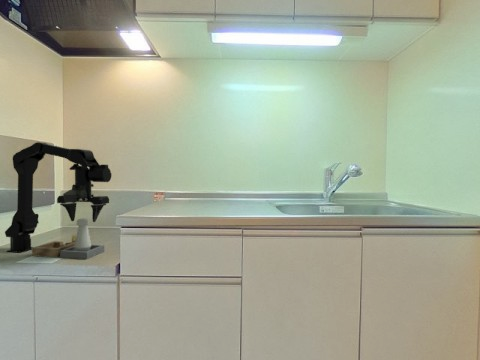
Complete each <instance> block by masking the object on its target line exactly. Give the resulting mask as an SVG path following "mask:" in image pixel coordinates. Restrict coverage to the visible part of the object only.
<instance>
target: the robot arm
mask: <svg viewBox="0 0 480 360" xmlns="http://www.w3.org/2000/svg"><path fill="white" fill-rule="evenodd" d="M46 155H51V156H55V157H59V158H64V159H66V160H68V161H69V162H72V163H73V165H71V167H70V168H69V170H70V171H74V184H72V186H71V189H69V190H67V191H65V192H64V193H63V194H62V195H58V197H57V199H56V203H57V204H59V205H60V206H62V207H64V208H65V210H66V211H67V213H68V216H69V219H70V221H71V222H74V221H75V218H76V211H77V203H92V204H91V205H90V208H91V209H92V222H93V223H96V221H97V219H98V218H99V215H100V213H101V211H102V210H103V208H104V206H107V204H109V203H110V199H109V196H108V195H97V196H94V194H93V193H92V188H94V183H109V182H110V181H111V179H112V171H111V169H110V168H109V164H100V163H99V162H98V160H97V159H96V158H95V155H94V153H93V151H92V150H90V149H81V148H67V147H62V146H57V145H53V144H48V143H46V142H39V141H37V142H34V143H33V144H31V145H30V146H27V147H26V148H25V147H24V148H22V149H21V150H20V151H17V152H15V154H13V156H12V165H13V169H14V170H15V172H16V173H17V205H16V206H17V209H16V212H15V213H14V215H13V217H12V220H11V225H10V226H9V227H8V228H6V230H5V231H4V234H5V237H6V238H10V239H9V241H10V248H9V249H7V250H6V252H7V253H8V252H9V253H23V252H26V251H29V250H32V248H33V247H34V246H32V238H31V234H33V235H34V233H35V230H36V228H37V227H38V224H40V223H39V213H35V212H34V210H33V200H34V199H33V197H34V194H33V193H34V187H33V186H34V174H35V173H36V171H37V169H38V165H39V162H40V161H41V160H43V159H44V157H45V156H46ZM92 182H93V183H92Z"/></svg>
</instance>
